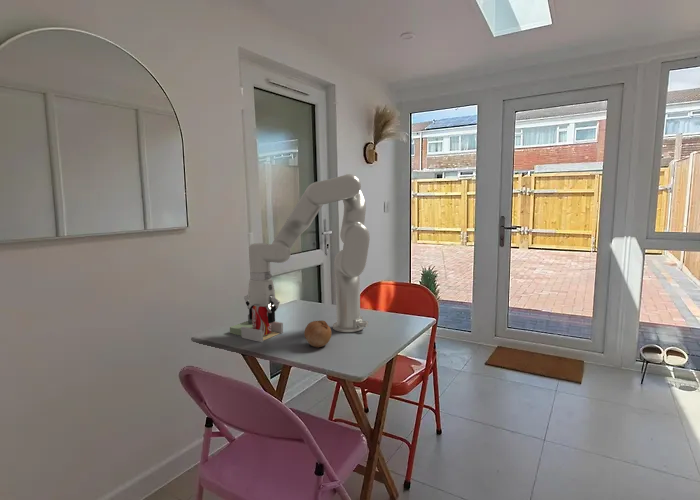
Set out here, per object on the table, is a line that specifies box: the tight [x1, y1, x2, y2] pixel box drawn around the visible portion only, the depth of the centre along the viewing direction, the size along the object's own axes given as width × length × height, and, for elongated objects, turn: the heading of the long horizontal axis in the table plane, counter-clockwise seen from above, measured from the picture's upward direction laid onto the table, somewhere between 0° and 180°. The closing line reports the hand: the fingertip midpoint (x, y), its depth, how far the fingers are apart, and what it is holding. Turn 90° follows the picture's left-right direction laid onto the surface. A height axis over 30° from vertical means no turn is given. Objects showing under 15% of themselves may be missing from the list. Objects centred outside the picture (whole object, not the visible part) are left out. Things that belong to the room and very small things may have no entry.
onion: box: [303, 320, 332, 348], centre depth 137 cm, size 10×9×10 cm
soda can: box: [252, 305, 272, 336], centre depth 149 cm, size 7×7×12 cm
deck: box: [229, 314, 284, 343], centre depth 153 cm, size 18×18×5 cm
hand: (262, 320), depth 148 cm, fingers open, 9 cm apart
